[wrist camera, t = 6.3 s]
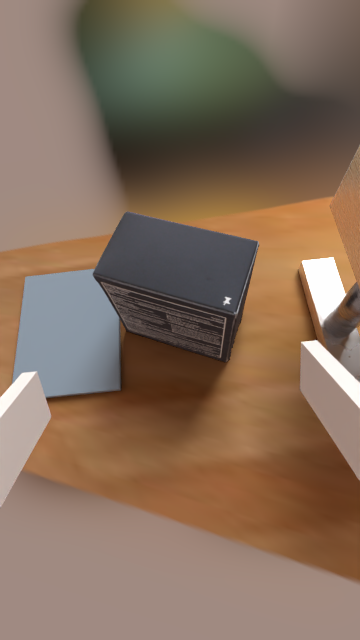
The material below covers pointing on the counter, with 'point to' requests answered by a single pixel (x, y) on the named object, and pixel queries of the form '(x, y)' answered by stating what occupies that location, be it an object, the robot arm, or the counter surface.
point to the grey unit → (338, 280)
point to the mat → (69, 335)
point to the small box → (177, 282)
